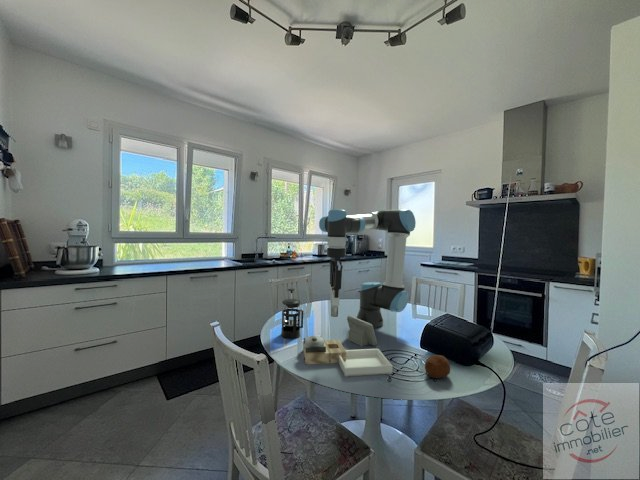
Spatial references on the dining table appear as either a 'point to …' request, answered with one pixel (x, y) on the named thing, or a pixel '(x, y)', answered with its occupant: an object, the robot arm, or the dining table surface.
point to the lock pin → (333, 307)
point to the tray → (365, 363)
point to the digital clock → (361, 332)
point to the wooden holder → (322, 350)
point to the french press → (290, 326)
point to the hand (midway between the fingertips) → (334, 303)
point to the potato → (437, 366)
